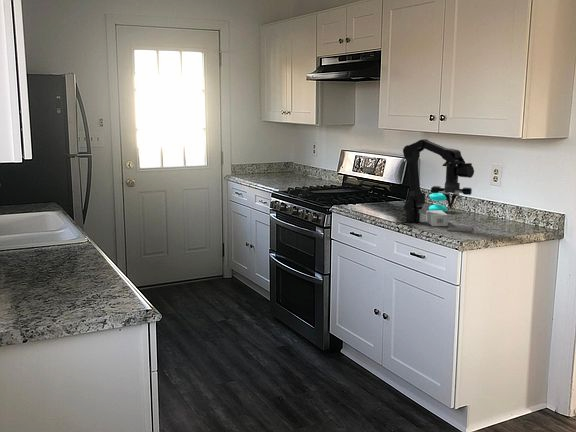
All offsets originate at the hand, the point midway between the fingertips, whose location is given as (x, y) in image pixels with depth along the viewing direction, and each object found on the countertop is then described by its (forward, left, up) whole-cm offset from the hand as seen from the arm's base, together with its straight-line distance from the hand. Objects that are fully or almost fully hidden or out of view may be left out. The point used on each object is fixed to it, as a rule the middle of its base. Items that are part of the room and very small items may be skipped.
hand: (450, 207), depth 293 cm
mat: (+5, 0, -10) cm, 11 cm away
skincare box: (-5, +3, -7) cm, 9 cm away
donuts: (-12, +49, -10) cm, 52 cm away
